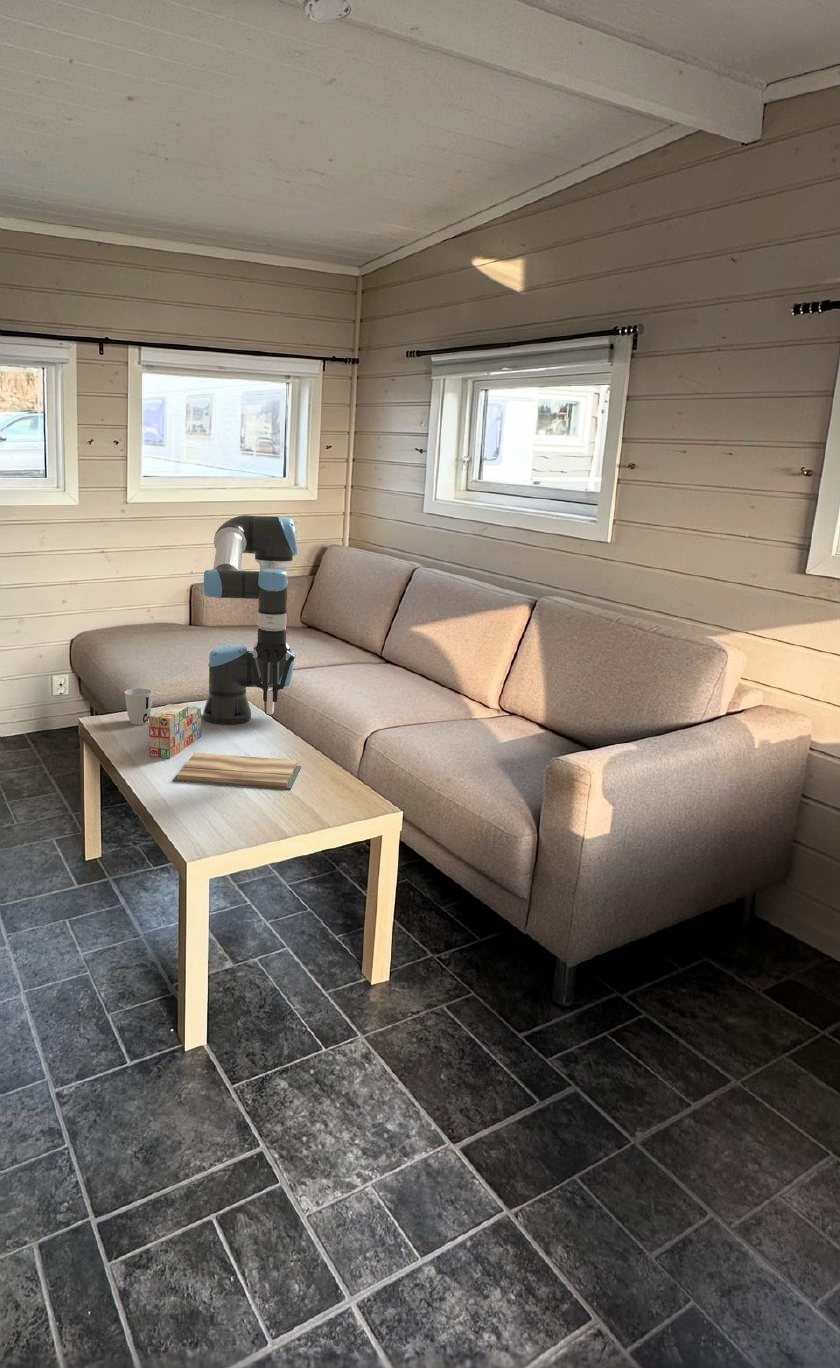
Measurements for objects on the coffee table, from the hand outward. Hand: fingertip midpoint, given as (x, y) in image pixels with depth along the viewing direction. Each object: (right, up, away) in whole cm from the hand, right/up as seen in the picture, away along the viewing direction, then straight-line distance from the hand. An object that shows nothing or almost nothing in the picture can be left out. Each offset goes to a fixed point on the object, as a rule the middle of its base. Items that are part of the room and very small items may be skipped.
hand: (270, 712), depth 248 cm
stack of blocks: (-30, -11, +17) cm, 36 cm away
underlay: (-8, -17, -2) cm, 19 cm away
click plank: (-8, -15, +1) cm, 17 cm away
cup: (-47, -4, +36) cm, 59 cm away
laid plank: (-8, -18, -7) cm, 21 cm away
